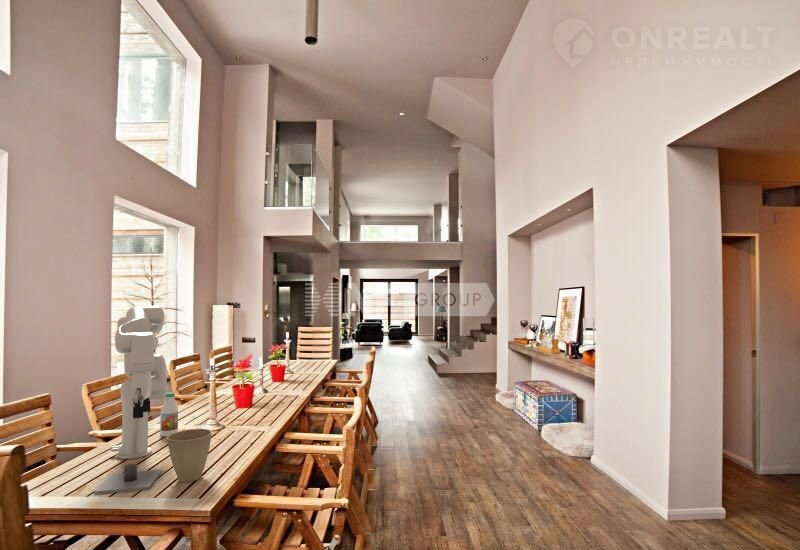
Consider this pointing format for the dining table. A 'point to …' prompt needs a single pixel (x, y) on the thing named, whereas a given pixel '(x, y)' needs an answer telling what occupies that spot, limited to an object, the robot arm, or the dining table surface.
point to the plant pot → (189, 452)
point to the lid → (128, 480)
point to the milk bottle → (169, 416)
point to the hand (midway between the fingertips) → (141, 414)
